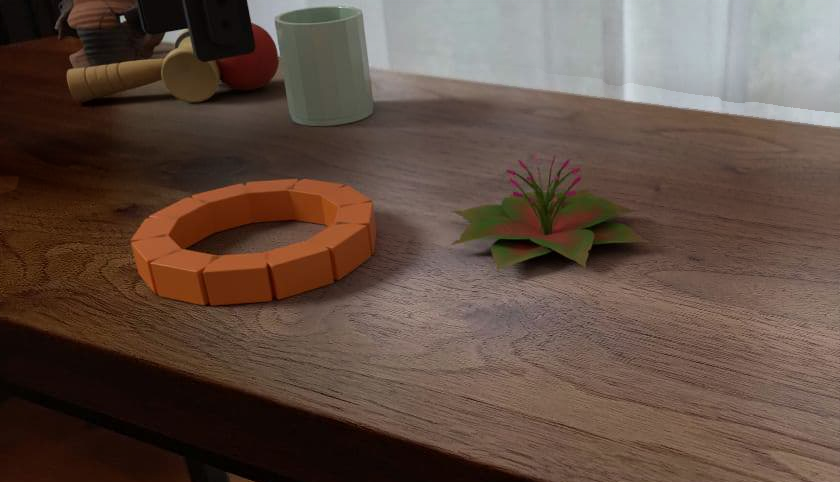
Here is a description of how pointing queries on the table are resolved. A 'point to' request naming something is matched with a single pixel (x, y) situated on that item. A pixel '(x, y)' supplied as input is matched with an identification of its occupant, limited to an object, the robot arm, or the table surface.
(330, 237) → the ring
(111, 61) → the pottery mug
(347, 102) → the cup
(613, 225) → the lily flower
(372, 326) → the table surface
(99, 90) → the kendama
